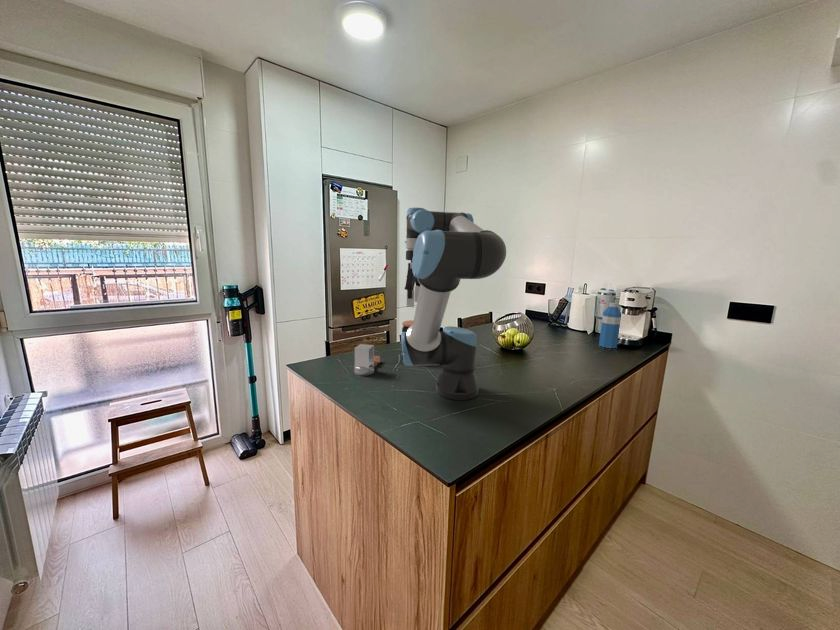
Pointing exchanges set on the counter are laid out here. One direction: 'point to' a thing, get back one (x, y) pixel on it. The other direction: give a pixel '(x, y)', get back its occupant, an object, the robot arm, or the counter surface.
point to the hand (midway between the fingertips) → (414, 304)
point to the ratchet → (367, 370)
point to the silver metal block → (364, 356)
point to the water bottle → (610, 326)
